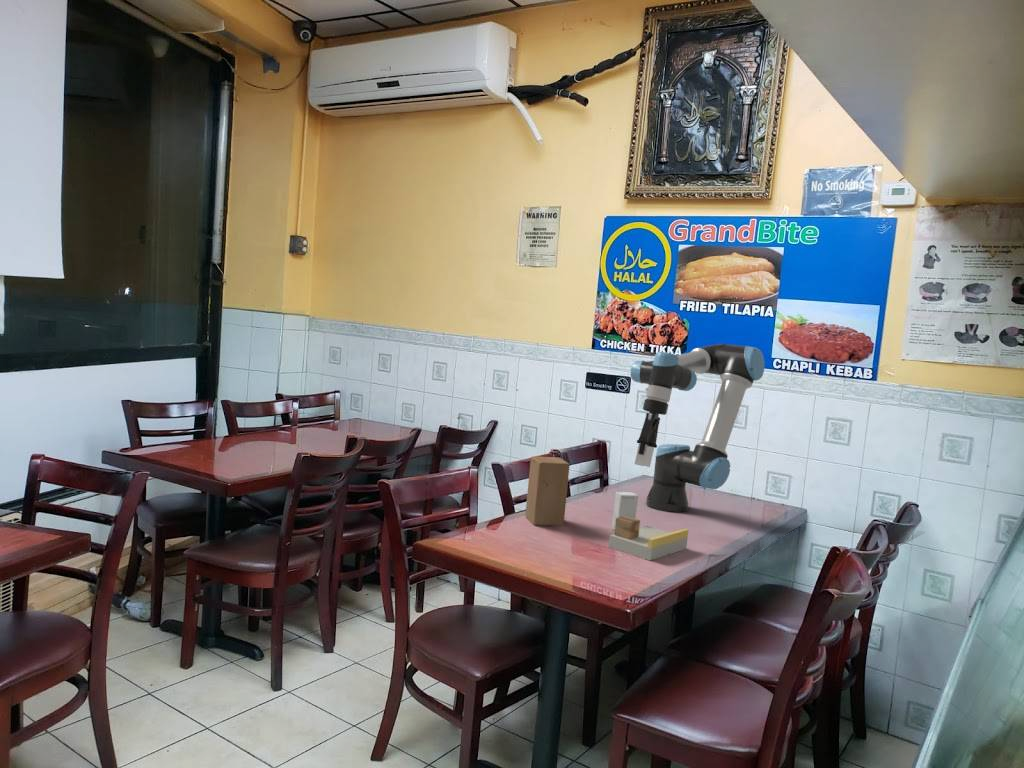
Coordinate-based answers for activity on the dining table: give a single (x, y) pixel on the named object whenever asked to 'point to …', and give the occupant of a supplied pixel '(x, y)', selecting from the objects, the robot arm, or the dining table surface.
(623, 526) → the tan wooden cube
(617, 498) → the skincare box
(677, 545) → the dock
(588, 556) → the dining table surface
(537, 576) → the dining table surface
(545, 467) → the wooden block
